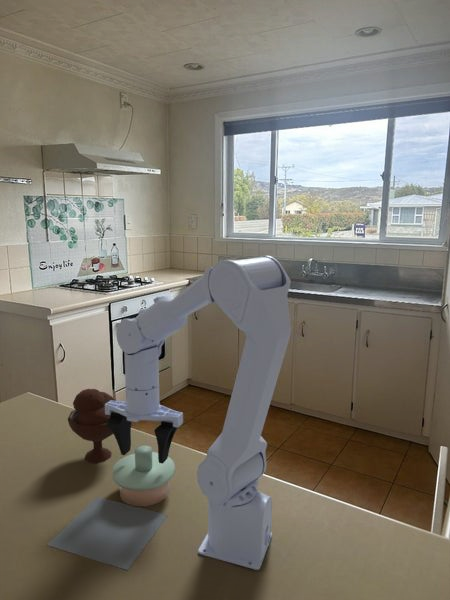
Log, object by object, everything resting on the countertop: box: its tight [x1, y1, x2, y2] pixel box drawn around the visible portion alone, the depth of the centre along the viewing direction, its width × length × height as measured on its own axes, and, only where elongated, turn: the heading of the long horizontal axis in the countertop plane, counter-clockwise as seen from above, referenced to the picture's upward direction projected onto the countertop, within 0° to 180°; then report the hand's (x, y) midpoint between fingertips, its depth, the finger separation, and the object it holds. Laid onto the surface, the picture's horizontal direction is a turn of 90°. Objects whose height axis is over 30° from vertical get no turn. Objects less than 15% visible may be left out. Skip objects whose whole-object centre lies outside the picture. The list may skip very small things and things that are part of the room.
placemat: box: [46, 496, 169, 571], centre depth 72 cm, size 14×13×1 cm
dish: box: [119, 479, 171, 507], centre depth 81 cm, size 9×9×4 cm
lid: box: [111, 445, 176, 490], centre depth 80 cm, size 11×11×4 cm
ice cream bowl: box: [67, 388, 117, 464], centre depth 92 cm, size 11×11×15 cm
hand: (144, 456), depth 81 cm, fingers open, 7 cm apart
